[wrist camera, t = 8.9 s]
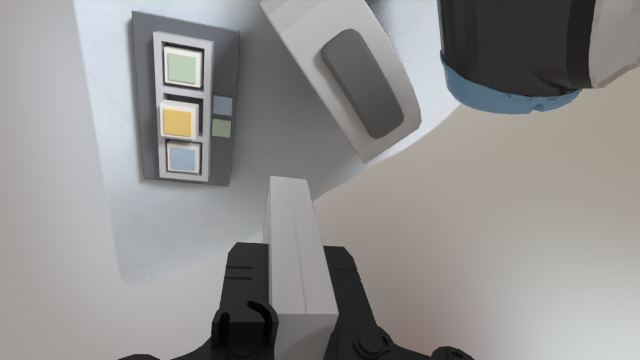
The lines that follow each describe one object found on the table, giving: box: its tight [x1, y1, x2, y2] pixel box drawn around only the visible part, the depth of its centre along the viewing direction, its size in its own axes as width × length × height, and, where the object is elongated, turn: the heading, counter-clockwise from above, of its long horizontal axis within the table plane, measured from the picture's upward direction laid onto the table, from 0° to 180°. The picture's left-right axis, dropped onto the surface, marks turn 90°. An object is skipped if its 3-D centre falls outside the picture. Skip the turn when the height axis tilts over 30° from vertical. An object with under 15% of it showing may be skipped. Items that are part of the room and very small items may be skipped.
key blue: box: [167, 139, 202, 173], centre depth 43 cm, size 4×4×2 cm
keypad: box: [132, 11, 240, 186], centre depth 42 cm, size 22×12×4 cm, turn 169°
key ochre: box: [160, 100, 199, 140], centre depth 38 cm, size 4×4×2 cm
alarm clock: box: [259, 0, 421, 163], centre depth 35 cm, size 21×8×20 cm, turn 33°
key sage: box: [164, 46, 204, 88], centre depth 38 cm, size 4×4×2 cm
